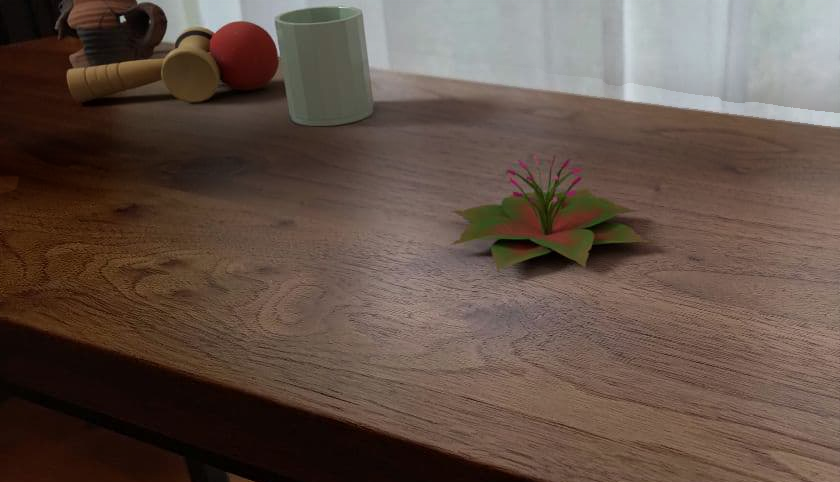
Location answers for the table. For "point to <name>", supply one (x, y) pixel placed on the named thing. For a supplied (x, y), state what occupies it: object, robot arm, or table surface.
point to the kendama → (189, 65)
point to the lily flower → (546, 222)
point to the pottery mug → (111, 30)
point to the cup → (325, 65)
